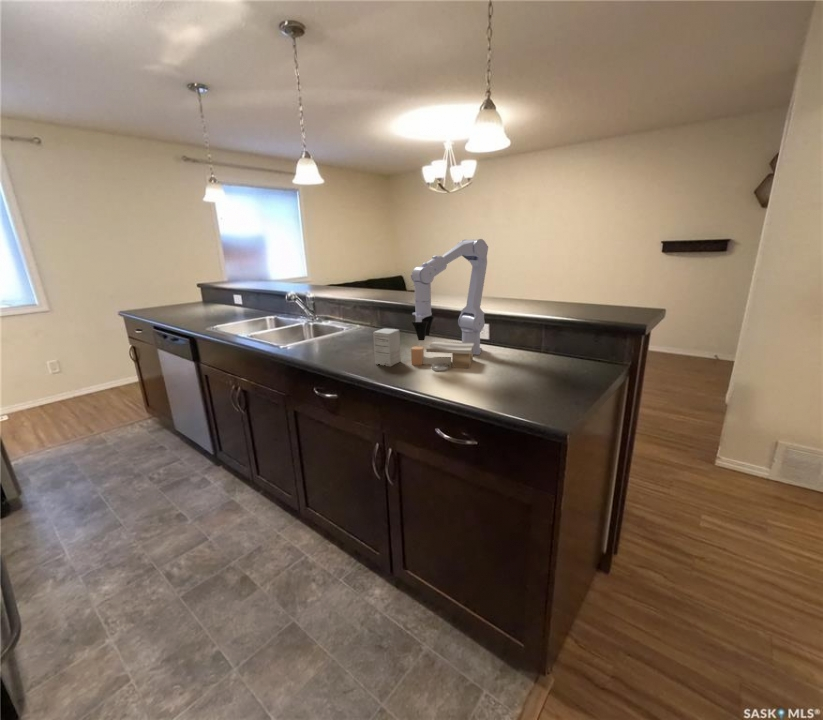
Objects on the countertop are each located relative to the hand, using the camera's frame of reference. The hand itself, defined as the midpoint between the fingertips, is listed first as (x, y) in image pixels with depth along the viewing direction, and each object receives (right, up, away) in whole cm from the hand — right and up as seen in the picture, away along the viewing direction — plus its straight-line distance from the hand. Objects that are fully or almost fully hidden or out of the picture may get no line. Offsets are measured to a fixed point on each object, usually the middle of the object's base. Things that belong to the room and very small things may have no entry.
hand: (423, 337), depth 143 cm
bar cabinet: (+10, -9, +2) cm, 14 cm away
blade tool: (+3, -10, +2) cm, 10 cm away
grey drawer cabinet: (-14, -10, +4) cm, 17 cm away
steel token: (+6, -12, -5) cm, 14 cm away
